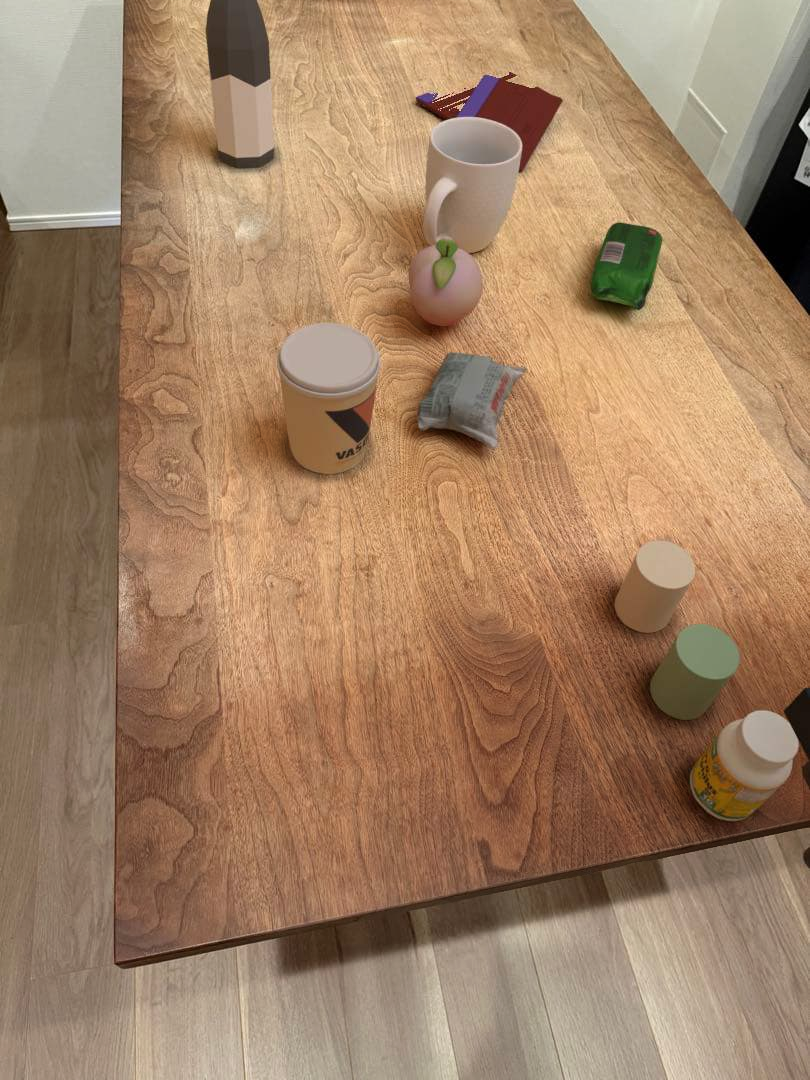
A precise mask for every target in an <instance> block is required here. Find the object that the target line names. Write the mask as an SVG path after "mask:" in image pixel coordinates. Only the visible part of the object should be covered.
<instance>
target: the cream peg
mask: <svg viewBox="0 0 810 1080" xmlns="http://www.w3.org/2000/svg"><path fill="white" fill-rule="evenodd" d="M695 575H696V564H695V562H694V560H693V557H692V556H691V555H690V554H689V552H687V550H685V549H684V548H683V547H681V546H680V545H678V544H676V543H674V542H671V541H668V540H651V541H648V542H646V543H644V544H642V545H641V546H640V547H639V548H638V550H637V552H636V554H635V556H634V558H633V560H632V562H631V565H630V567H629V569H628V571H627V573H626V575H625V577H624V579H623V582H622V584H621V585H620V588H619V590H618V592H617V594H616V596H615V599H614V610H615V613H616V615H617V618H618V619H619V620H620V621H621V622H622V623H623V624H624V625H625V626H626V627H628V628H629V629H631V630H633V631H636V632H639V633H642V634H643V633H644V634H651V633H657V632H659V631H661V630H663V629H664V628H665V627H666V626H667V625H668V623H669V622H670V620H671V618H672V616H673V615H674V613H675V611H676V609H678V606H679V605H680V603H681V601H682V599H683V597H684V596H685V595H686V592H687V591H688V589H689V587H690V585H691V584H692V581H693V580H694V578H695Z"/></svg>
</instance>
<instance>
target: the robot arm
mask: <svg viewBox="0 0 810 1080" xmlns="http://www.w3.org/2000/svg"><path fill="white" fill-rule="evenodd" d="M783 713H784V715H785V717H786V720H787V721H788V722H789V723H790V725H791V727H792V729H793V731H794V733H795V735H796V736H797V738H798V742H799V745H800V746H801V748H802V750H803V752H804V754H805V757H806V758H807V761H806V762H805V763H804V764H803V765H802V766H801V771H802V772H801V773H802V777H803V779H804V781H805V784H806V785H807V787H808V789H809V790H810V686H808V687H804V688H803V689H802V690H801V691H800V693H799V694H798V695H796V696H795V698H794V699H793V700H792V701H791V702H790V703H789V704H788V705H787V707H785V709H784V710H783ZM802 859H803V862H804V865H806V867H807V868H808V869H809V870H810V846H809V847H807V848H805V850H804V851H803V853H802Z"/></svg>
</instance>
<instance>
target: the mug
mask: <svg viewBox="0 0 810 1080" xmlns="http://www.w3.org/2000/svg"><path fill="white" fill-rule="evenodd" d="M521 153H522V142H521V139H520V137H519V136H518V135H517V134H516V133H515V132H514V131H513V130H512V129H510V128H509V127H507V126H505V125H503V124H501V123H498V122H496V121H492V120H488V119H484V118H478V117H458V118H452V119H449V120H443V121H441V122H439V123H437V124H436V125H435V126H434V127H432V129H431V132H430V133H429V139H428V150H427V154H426V155H427V156H426V166H425V167H426V169H425V186H424V189H425V190H424V191H425V193H424V194H425V195H424V196H425V200H426V201H425V207H424V211H423V219H422V231H423V237H424V240H425V241H426V243H427V244H428V245H430V246H432V245H436V243H437V242H438V241H439V240H441V239H443V238H446V239H451V240H453V241H455V242H456V244H457V245H458V248H459V249H462V250H464V251H466V252H467V253H469V254H473V253H474V254H475V253H477V252H480V251H482V250H484V249H485V248H487V247H488V246H489V244H491V243H492V242H493V240H494V239H495V238H496V237H497V235H498V233H500V231H501V229H502V227H503V226H504V224H505V221H506V218H507V217H508V214H509V211H510V210H511V209H510V208H511V206H512V203H513V199H514V195H515V191H516V185H517V183H518V182H517V181H518V175H519V172H520V171H519V166H520V159H521Z"/></svg>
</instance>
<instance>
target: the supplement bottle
mask: <svg viewBox="0 0 810 1080" xmlns="http://www.w3.org/2000/svg"><path fill="white" fill-rule="evenodd" d="M799 745H800V742H799V740H798V738H797V736H796V735H795V733H794V731H793V729H792V727H791V725H790V723H789V721H788V719H787V718H785V717H783V716H782V715H780V714H778V713H776V712H773V711H771V710H764V709H762V710H761V709H760V710H755V711H751V712H750V713H749V714H747V715H746V716H745V717H744V718H738V719H736V720H733V721H731V722H730V723H728V724H727V725H725V726H724V727H723V728H722V729H721V731H720V732H719V733H718V735H717V736H716V737H715V738H714V740H713V741H712V742H711V743H710V744H709V746H708V747H707V748H706V750H705V751H704V752H703V754H702V755H701V756H700V757H699V759H698V760H697V761H696V762H695V764H694V765H693V767H692V769H691V771H690V774H689V785H690V790H691V792H692V795H693V798H694V799H695V800H696V802H697V803H698V804H699V806H701V807H702V809H703V810H704V811H706V812H707V813H708V814H709V815H711V816H713V817H714V818H717V819H718V820H722V821H727V822H737V821H741V820H742V821H743V820H744V819H747V818H749V817H750V816H751V815H752V814H753V813H754V812H756V811H757V809H758V808H760V807H761V806H762V805H763V804H764V803H765V802H766V801H767V800H768V799H769V798H770V797H771V796H772V795H773V794H774V793H775V792H776V791H777V790H778V789H779V788H780V787H781V786H783V784H784V783H785V782H786V781H787V780H788V779H789V777H790V775H791V772H792V770H793V764H794V763H793V759H794V758H795V756H796V755H797V753H798V751H799V747H800V746H799Z"/></svg>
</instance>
